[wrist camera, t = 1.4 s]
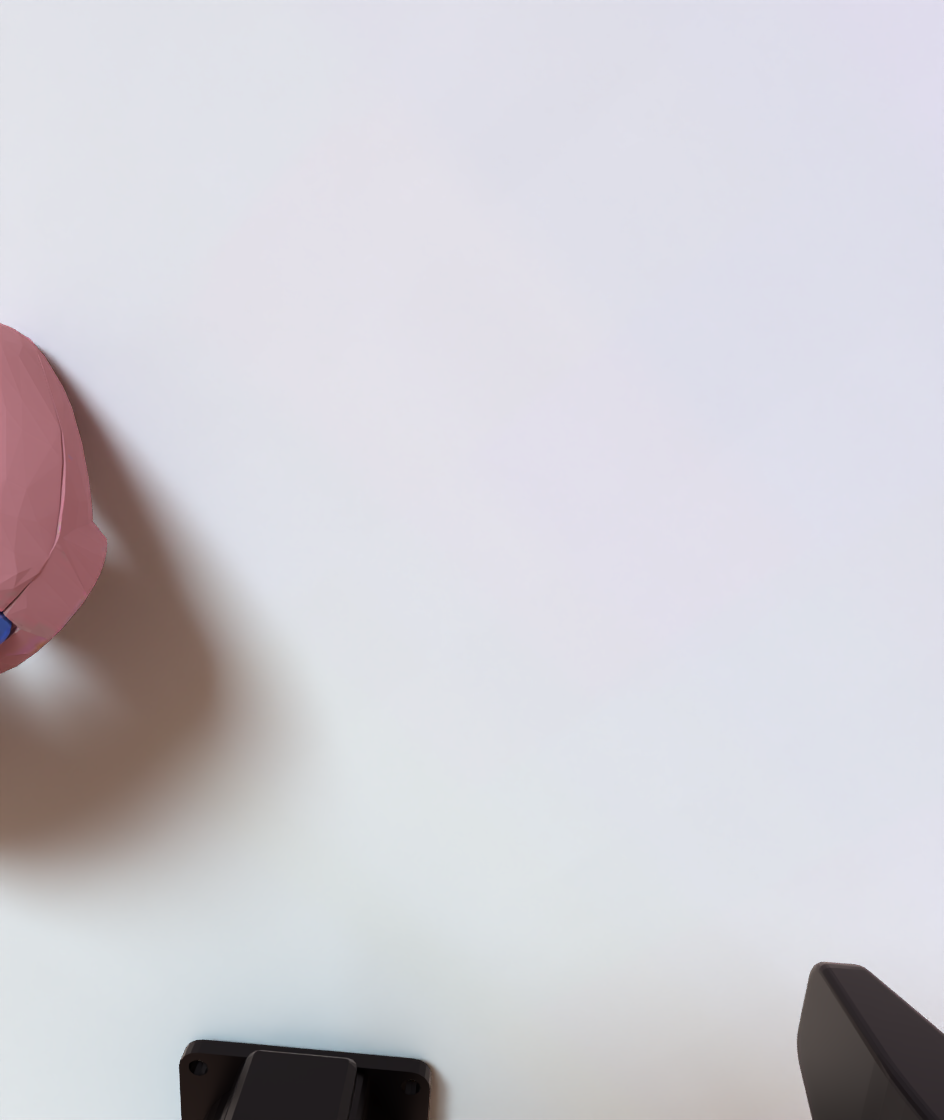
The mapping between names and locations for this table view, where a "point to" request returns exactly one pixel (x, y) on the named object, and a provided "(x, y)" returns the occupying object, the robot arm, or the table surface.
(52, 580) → the pink curved piece
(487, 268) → the table surface
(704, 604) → the table surface
